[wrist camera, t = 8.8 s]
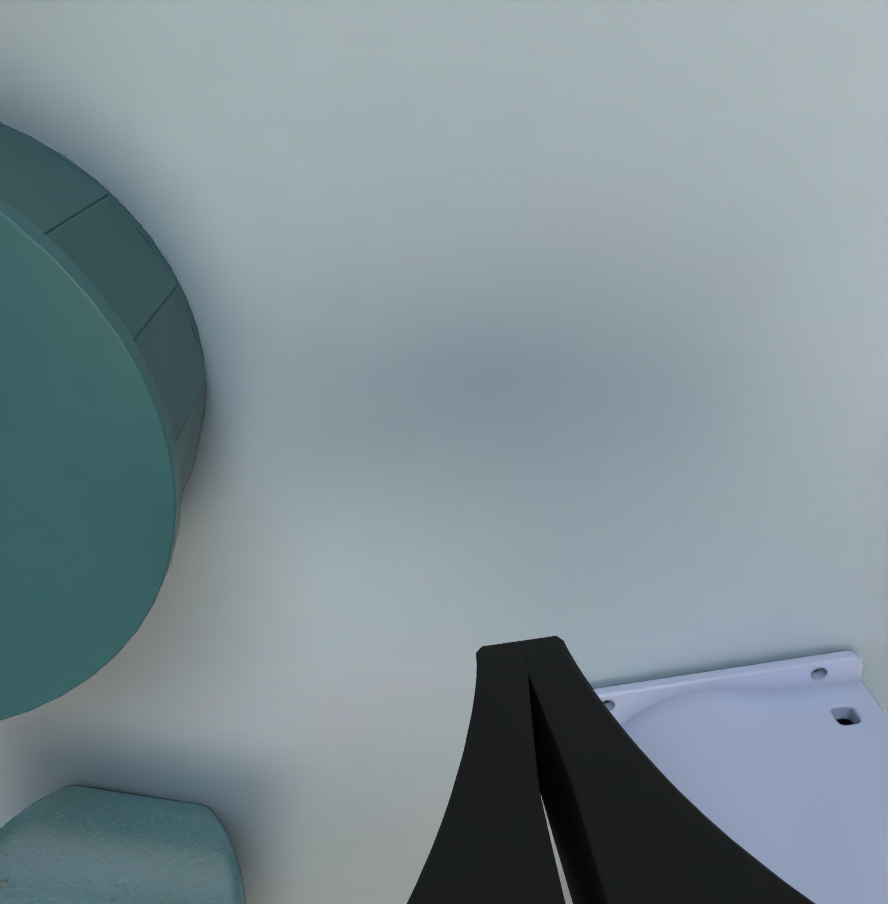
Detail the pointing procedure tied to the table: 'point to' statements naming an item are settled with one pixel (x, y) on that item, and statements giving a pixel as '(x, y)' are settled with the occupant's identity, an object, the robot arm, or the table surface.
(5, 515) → the tin lid
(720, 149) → the table surface
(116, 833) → the flower pot
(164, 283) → the tin
